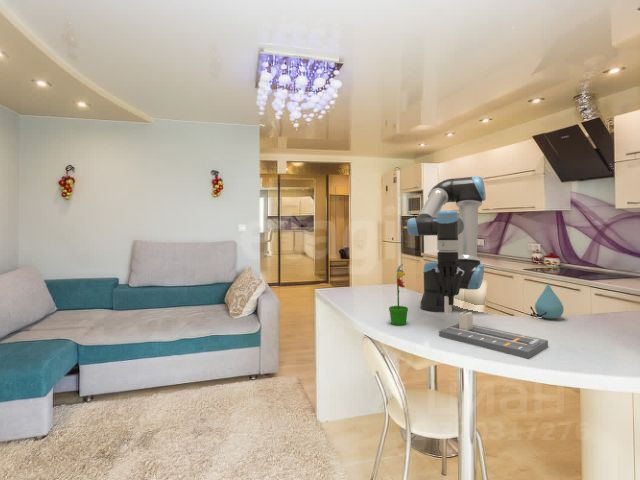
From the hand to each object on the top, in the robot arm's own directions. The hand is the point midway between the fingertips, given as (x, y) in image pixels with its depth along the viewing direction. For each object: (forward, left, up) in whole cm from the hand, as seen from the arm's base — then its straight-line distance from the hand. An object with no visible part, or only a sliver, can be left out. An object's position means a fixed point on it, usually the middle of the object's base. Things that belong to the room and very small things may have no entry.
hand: (448, 312), depth 134 cm
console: (0, +16, -7) cm, 17 cm away
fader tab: (0, +7, -5) cm, 8 cm away
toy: (-47, +18, -7) cm, 51 cm away
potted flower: (+5, -20, -7) cm, 22 cm away
